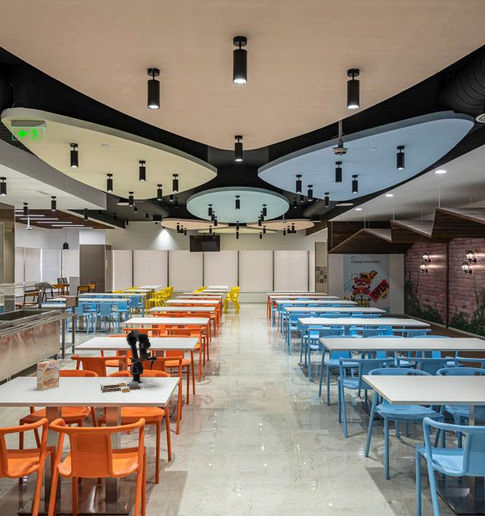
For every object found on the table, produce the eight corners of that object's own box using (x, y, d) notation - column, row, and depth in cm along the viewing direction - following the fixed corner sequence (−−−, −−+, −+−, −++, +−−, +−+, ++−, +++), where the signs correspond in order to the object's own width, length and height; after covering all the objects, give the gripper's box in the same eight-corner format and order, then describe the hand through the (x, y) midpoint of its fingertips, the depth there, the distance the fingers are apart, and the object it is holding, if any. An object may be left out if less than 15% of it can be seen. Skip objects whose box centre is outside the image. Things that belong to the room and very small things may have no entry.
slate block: (128, 387, 361) (129, 382, 361) (137, 386, 363) (137, 381, 363) (130, 389, 356) (130, 383, 356) (138, 388, 358) (138, 383, 358)
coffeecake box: (43, 390, 350) (43, 363, 350) (36, 389, 353) (36, 362, 353) (59, 386, 363) (59, 360, 363) (52, 385, 366) (53, 359, 367)
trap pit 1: (118, 385, 367) (118, 383, 367) (125, 384, 368) (125, 382, 368) (119, 386, 362) (119, 384, 362) (126, 386, 364) (126, 384, 364)
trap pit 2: (121, 390, 350) (121, 388, 350) (128, 390, 352) (128, 388, 352) (122, 392, 345) (122, 390, 345) (129, 391, 347) (129, 389, 347)
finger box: (100, 388, 357) (100, 384, 357) (137, 385, 367) (137, 381, 367) (102, 392, 345) (102, 388, 345) (140, 389, 355) (140, 385, 355)
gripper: (132, 350, 354) (133, 372, 350) (157, 347, 361) (159, 369, 357) (129, 352, 364) (131, 373, 360) (154, 349, 371) (156, 370, 367)
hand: (144, 371), depth 361 cm, fingers open, 9 cm apart
